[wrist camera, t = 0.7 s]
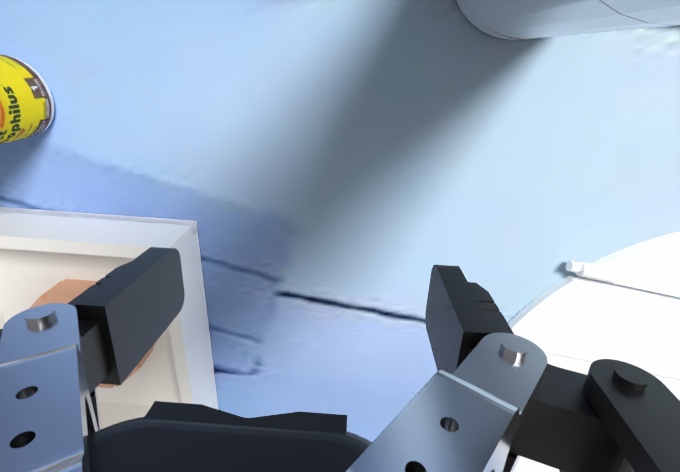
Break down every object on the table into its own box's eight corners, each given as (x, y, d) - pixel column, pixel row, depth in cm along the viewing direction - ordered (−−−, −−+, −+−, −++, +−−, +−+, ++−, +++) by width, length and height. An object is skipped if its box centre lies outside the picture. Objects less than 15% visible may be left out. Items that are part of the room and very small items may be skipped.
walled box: (-40, 204, 32) (-106, 228, 28) (196, 220, 32) (168, 248, 27) (35, 394, 42) (-5, 436, 37) (218, 409, 41) (200, 453, 37)
